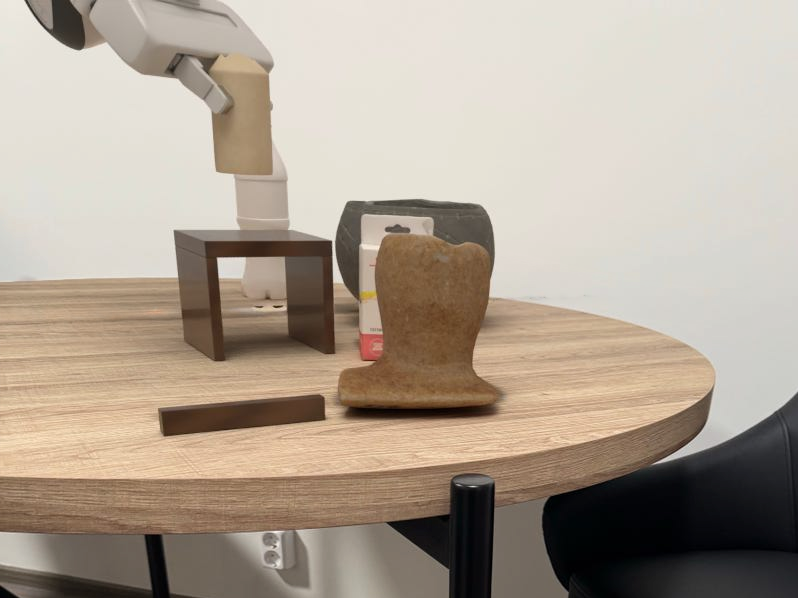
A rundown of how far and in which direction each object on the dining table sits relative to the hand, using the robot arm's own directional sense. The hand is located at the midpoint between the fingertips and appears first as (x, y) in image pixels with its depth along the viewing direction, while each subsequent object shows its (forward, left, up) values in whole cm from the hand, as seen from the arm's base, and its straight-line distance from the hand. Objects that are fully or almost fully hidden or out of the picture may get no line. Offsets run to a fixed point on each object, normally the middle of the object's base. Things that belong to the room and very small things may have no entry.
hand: (246, 111), depth 89 cm
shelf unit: (+3, +10, -24) cm, 26 cm away
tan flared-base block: (+8, -20, -24) cm, 32 cm away
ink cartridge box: (+16, 0, -24) cm, 29 cm away
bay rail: (-9, -22, -24) cm, 34 cm away
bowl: (+28, +19, -24) cm, 41 cm away
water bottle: (+14, +38, -24) cm, 47 cm away
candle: (0, 0, -6) cm, 6 cm away
